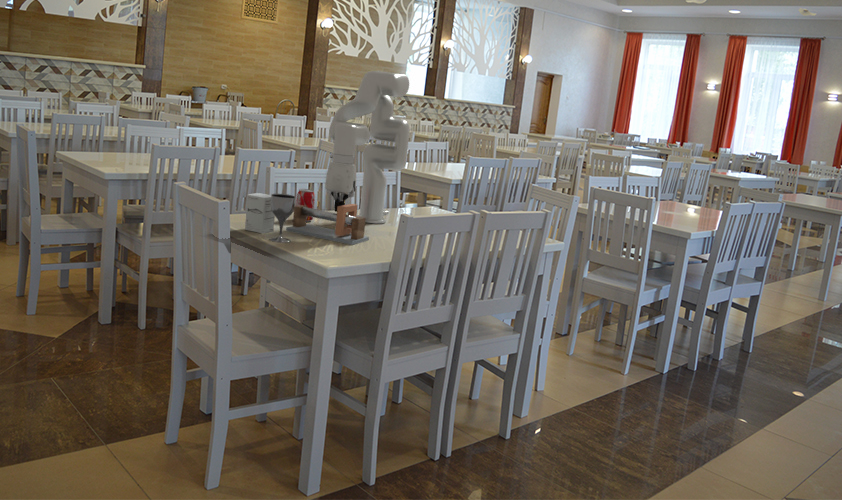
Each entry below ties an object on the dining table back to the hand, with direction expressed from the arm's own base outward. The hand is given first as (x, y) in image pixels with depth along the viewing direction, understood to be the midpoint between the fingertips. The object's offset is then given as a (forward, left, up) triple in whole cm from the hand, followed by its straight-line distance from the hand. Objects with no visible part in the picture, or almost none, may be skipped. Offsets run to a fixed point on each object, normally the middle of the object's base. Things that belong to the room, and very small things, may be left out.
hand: (338, 211), depth 236 cm
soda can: (-11, -26, -10) cm, 30 cm away
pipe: (+1, -4, -4) cm, 5 cm away
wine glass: (+22, -6, -10) cm, 24 cm away
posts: (+1, -4, -9) cm, 10 cm away
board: (+1, -4, -9) cm, 10 cm away
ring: (-1, +3, -7) cm, 8 cm away
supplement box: (+18, -20, -10) cm, 28 cm away
